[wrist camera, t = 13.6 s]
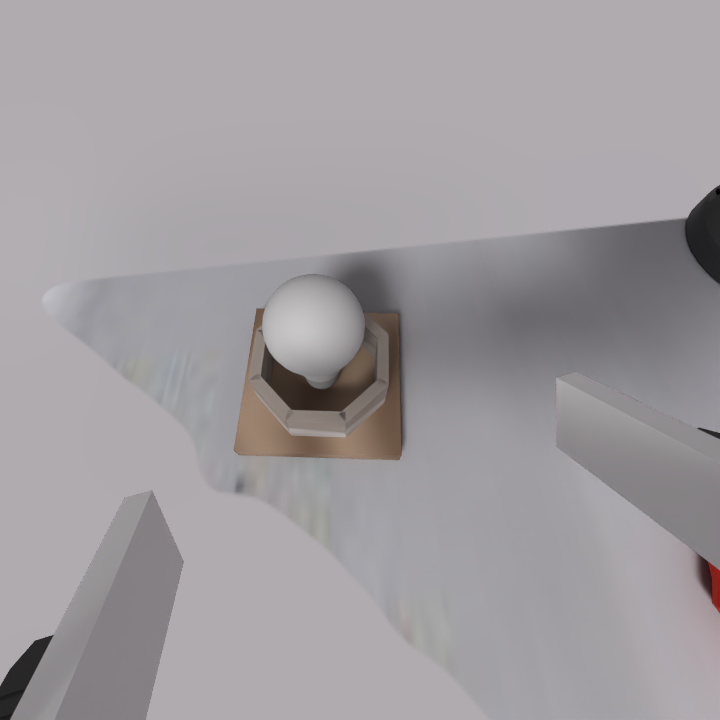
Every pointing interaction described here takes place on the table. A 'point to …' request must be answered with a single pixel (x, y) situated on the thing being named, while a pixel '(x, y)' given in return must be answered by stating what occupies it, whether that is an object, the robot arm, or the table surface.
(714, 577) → the tomato
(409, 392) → the table surface
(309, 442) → the bulb socket
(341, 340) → the lightbulb
